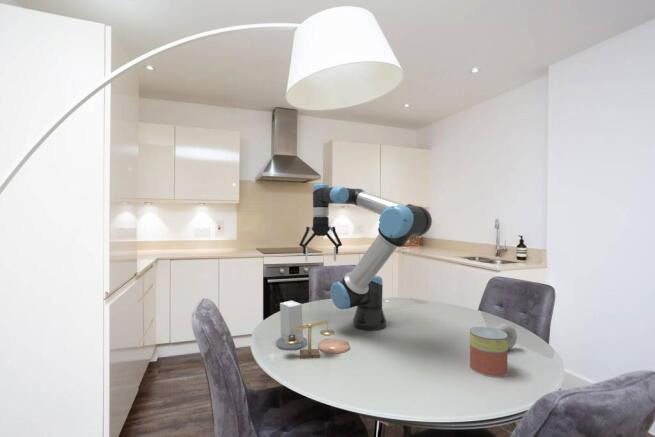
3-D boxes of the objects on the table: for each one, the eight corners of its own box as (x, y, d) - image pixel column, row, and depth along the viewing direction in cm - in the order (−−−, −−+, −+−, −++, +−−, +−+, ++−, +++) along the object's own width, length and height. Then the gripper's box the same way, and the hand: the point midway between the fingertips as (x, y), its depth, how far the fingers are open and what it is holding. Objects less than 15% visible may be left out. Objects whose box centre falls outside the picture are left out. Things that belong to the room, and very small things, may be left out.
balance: (333, 351, 123) (333, 318, 123) (334, 357, 118) (335, 322, 118) (284, 353, 121) (285, 319, 121) (284, 359, 116) (284, 323, 116)
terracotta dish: (346, 340, 134) (346, 338, 134) (351, 353, 122) (351, 349, 122) (316, 341, 132) (316, 338, 132) (319, 354, 121) (319, 351, 121)
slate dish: (306, 337, 137) (306, 335, 137) (307, 349, 125) (307, 346, 125) (276, 338, 136) (276, 335, 136) (275, 350, 124) (275, 347, 124)
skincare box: (303, 342, 129) (303, 304, 129) (289, 346, 125) (289, 306, 125) (292, 336, 136) (293, 299, 135) (279, 339, 132) (279, 301, 132)
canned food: (516, 374, 106) (516, 336, 106) (486, 379, 103) (487, 340, 102) (489, 359, 117) (489, 325, 116) (462, 363, 113) (462, 328, 113)
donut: (496, 353, 122) (496, 326, 122) (489, 349, 125) (490, 323, 125) (519, 350, 125) (519, 323, 125) (511, 347, 128) (511, 321, 128)
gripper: (345, 216, 164) (345, 259, 164) (294, 216, 161) (294, 260, 162) (347, 216, 157) (347, 261, 157) (294, 216, 154) (294, 262, 154)
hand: (320, 261), depth 159 cm, fingers open, 13 cm apart
